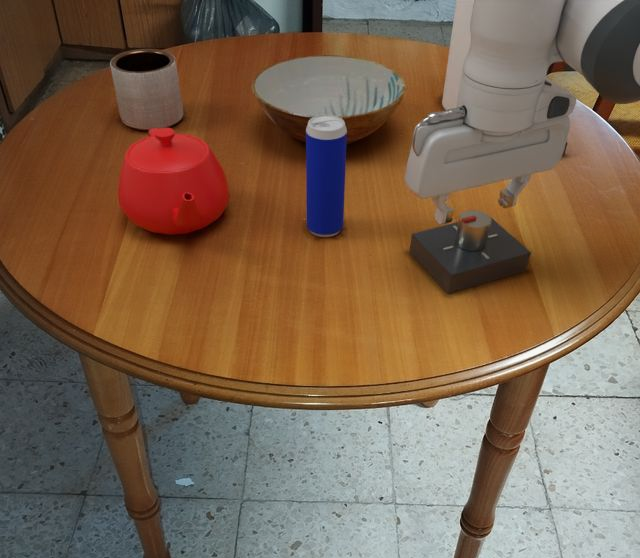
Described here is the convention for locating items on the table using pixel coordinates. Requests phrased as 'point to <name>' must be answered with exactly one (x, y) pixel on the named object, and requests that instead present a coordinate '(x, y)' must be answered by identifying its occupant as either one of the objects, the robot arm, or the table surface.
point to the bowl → (328, 93)
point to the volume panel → (468, 257)
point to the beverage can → (325, 174)
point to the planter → (147, 88)
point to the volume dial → (473, 230)
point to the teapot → (172, 183)
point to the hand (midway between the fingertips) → (474, 213)
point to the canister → (457, 52)
